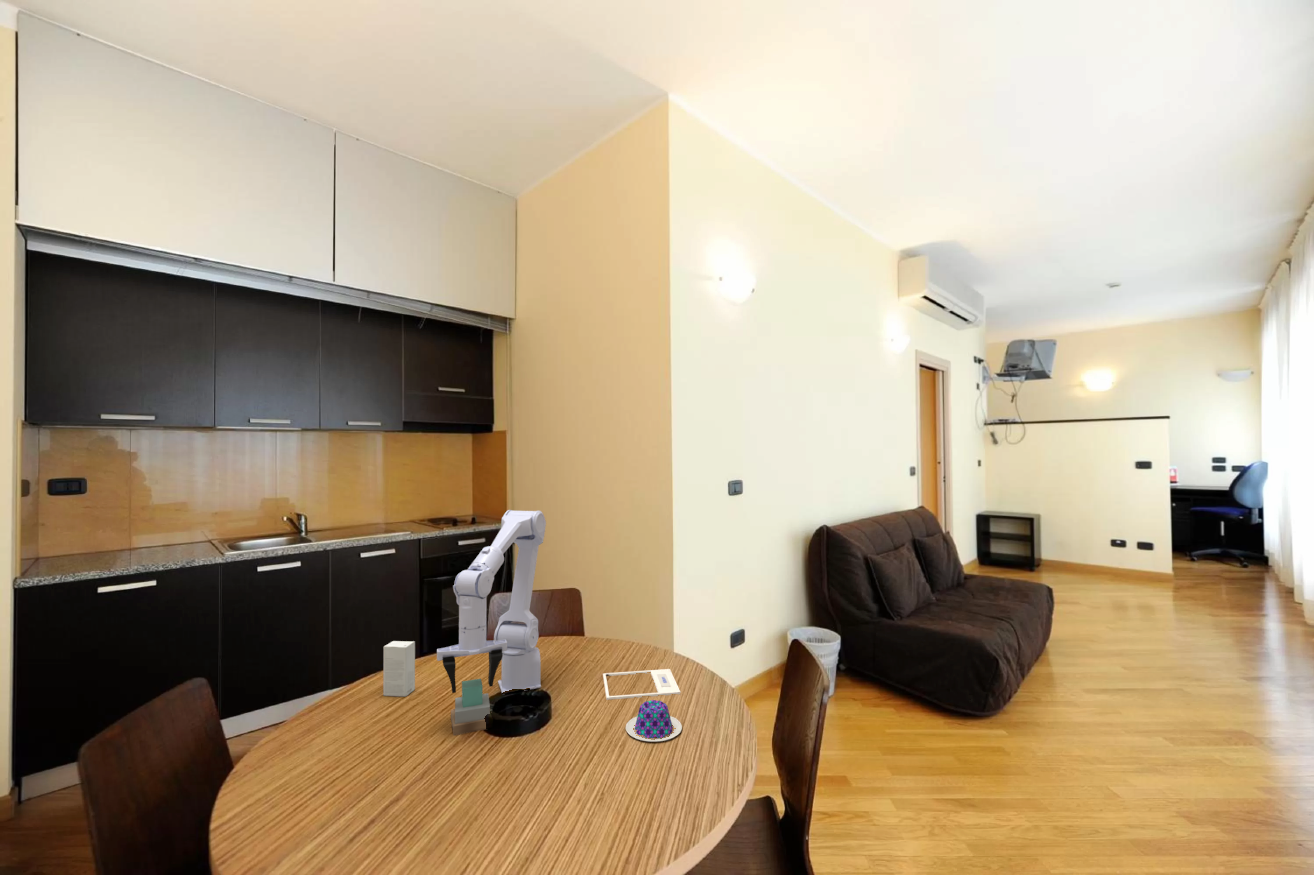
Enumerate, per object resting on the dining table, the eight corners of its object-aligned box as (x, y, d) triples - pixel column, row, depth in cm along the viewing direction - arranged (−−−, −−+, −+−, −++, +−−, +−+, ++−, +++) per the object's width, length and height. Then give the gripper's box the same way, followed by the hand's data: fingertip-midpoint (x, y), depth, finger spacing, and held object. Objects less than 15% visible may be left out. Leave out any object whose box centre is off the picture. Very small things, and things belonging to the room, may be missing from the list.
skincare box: (415, 689, 137) (415, 641, 137) (406, 697, 132) (406, 647, 133) (392, 688, 137) (392, 640, 138) (382, 696, 133) (382, 646, 133)
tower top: (488, 704, 124) (488, 693, 124) (489, 718, 118) (489, 706, 118) (455, 709, 122) (455, 697, 122) (454, 724, 115) (455, 712, 115)
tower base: (488, 713, 125) (488, 702, 125) (493, 730, 117) (493, 718, 118) (450, 721, 121) (450, 709, 122) (453, 738, 114) (453, 726, 114)
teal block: (480, 696, 122) (480, 678, 123) (482, 704, 119) (482, 685, 119) (461, 699, 121) (461, 681, 121) (462, 707, 117) (463, 688, 117)
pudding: (615, 726, 118) (615, 701, 118) (661, 711, 125) (661, 688, 125) (645, 751, 108) (645, 724, 108) (693, 734, 115) (693, 708, 115)
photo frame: (680, 691, 133) (606, 696, 131) (680, 695, 133) (606, 701, 131) (669, 668, 148) (602, 672, 145) (669, 672, 148) (602, 676, 145)
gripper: (438, 635, 114) (437, 701, 113) (509, 626, 120) (509, 689, 119) (436, 625, 120) (436, 688, 120) (504, 617, 126) (504, 676, 126)
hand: (472, 687), depth 120 cm, fingers open, 7 cm apart
